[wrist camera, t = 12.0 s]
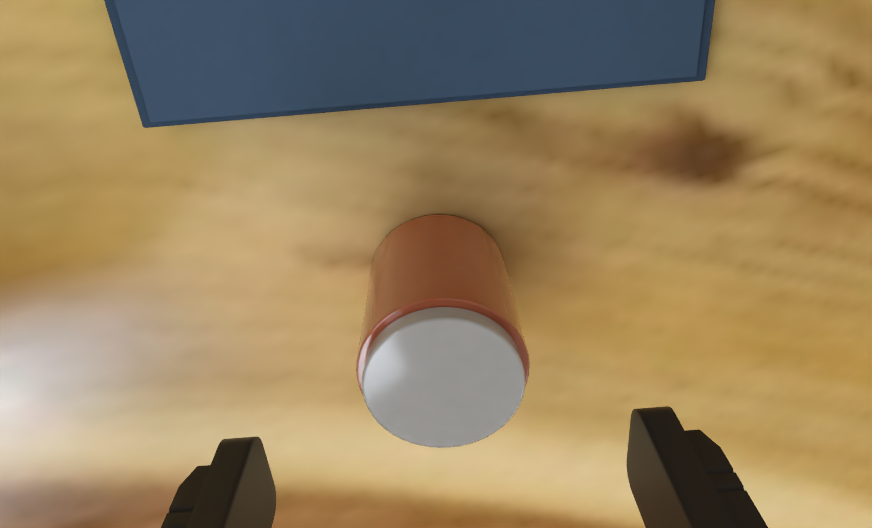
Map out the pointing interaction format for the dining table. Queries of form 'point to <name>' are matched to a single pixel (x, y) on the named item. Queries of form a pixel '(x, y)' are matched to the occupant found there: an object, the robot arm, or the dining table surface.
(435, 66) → the blue flat rectangular block
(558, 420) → the dining table surface
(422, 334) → the pill bottle
